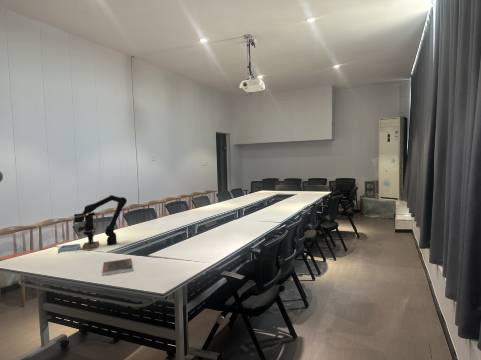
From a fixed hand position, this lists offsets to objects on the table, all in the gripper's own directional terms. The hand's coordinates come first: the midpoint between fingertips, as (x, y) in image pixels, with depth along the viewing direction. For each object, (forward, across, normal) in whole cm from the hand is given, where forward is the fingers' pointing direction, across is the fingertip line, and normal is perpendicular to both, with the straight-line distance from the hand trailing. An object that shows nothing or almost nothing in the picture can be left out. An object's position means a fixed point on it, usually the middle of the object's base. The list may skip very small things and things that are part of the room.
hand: (90, 241), depth 243 cm
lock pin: (+4, 0, 0) cm, 4 cm away
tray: (+5, 0, -15) cm, 16 cm away
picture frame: (+6, +61, +24) cm, 66 cm away
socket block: (+5, 0, 0) cm, 5 cm away
